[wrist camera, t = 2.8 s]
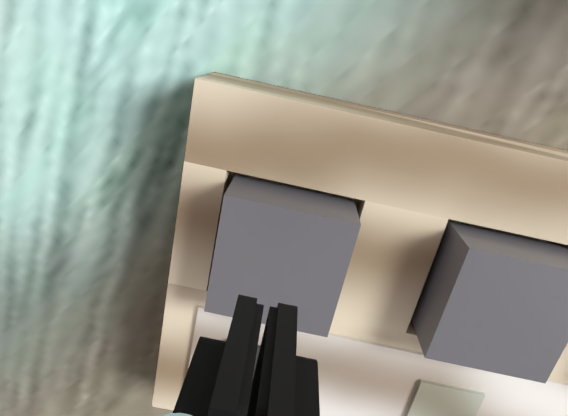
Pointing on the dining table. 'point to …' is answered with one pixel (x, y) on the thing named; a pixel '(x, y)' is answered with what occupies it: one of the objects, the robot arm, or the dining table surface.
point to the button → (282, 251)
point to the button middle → (495, 303)
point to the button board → (362, 239)
